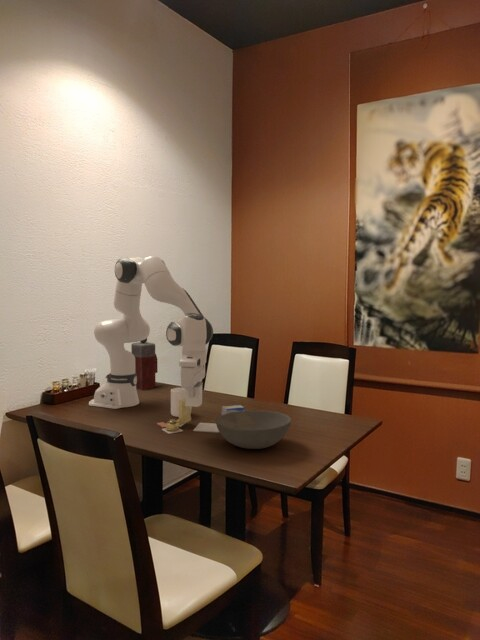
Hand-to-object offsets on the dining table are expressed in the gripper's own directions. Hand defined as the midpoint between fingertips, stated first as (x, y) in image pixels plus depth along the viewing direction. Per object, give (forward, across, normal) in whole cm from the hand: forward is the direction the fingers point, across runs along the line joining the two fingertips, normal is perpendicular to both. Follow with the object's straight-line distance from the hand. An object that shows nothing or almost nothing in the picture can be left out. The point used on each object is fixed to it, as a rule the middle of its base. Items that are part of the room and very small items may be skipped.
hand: (193, 395), depth 191 cm
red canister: (+17, -72, -46) cm, 87 cm away
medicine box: (+16, -12, +12) cm, 23 cm away
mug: (+16, -26, -12) cm, 33 cm away
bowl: (+16, +5, +23) cm, 29 cm away
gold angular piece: (+15, -9, -8) cm, 19 cm away
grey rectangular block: (+4, 0, 0) cm, 4 cm away
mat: (+16, -11, +3) cm, 19 cm away
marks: (+16, -8, -12) cm, 21 cm away
